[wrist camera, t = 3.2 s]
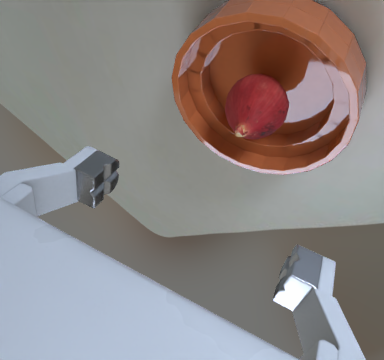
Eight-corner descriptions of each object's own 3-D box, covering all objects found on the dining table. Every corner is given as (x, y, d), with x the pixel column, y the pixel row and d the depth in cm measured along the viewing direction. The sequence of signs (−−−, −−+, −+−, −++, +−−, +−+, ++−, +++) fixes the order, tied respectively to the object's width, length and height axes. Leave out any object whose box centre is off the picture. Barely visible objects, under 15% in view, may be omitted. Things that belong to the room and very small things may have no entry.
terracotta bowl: (162, 43, 35) (140, 66, 33) (316, -62, 23) (299, -38, 20) (245, 157, 43) (232, 182, 40) (394, 126, 30) (389, 159, 28)
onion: (310, 81, 30) (286, 138, 26) (275, 117, 35) (250, 169, 31) (259, 45, 30) (227, 96, 26) (231, 86, 35) (200, 135, 30)
